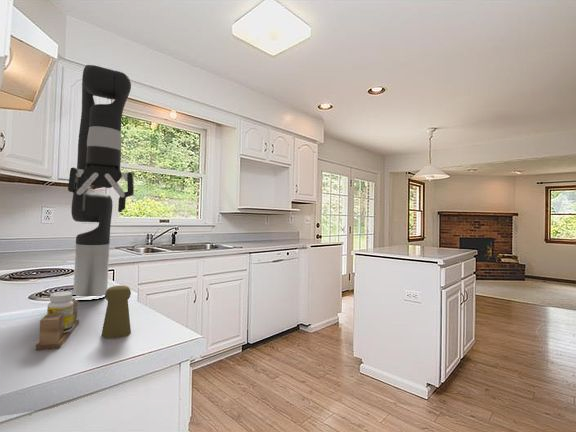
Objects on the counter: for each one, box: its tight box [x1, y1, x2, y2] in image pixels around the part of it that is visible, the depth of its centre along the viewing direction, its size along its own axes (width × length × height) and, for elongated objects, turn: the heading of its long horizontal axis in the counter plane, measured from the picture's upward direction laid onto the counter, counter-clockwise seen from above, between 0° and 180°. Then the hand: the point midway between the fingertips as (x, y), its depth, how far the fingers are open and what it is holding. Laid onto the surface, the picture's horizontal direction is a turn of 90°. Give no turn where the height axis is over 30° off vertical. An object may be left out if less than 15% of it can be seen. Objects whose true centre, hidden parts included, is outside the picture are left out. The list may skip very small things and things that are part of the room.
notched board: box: [35, 299, 80, 351], centre depth 71 cm, size 15×4×6 cm, turn 21°
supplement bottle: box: [46, 291, 74, 333], centre depth 71 cm, size 5×5×8 cm
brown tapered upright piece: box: [101, 285, 132, 340], centre depth 73 cm, size 6×6×11 cm
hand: (101, 211), depth 80 cm, fingers open, 8 cm apart
